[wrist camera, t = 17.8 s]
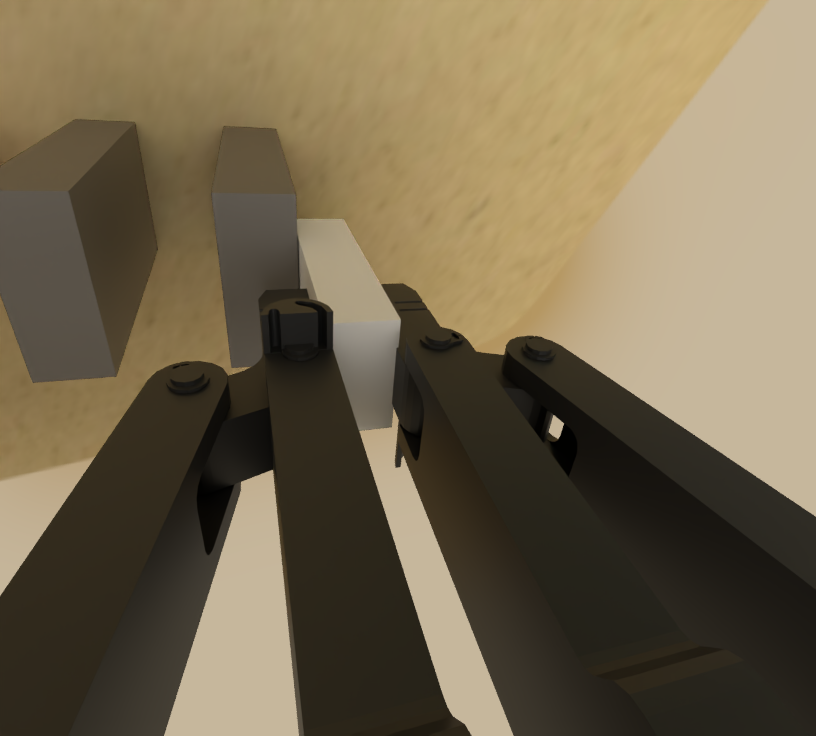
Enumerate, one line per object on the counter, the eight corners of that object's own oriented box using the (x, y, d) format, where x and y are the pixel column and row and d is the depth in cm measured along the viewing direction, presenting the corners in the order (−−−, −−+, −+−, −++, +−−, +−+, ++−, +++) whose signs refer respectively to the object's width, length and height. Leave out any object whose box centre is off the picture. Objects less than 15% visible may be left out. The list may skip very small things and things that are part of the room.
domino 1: (105, 250, 22) (32, 382, 14) (75, 119, 19) (-38, 189, 11) (157, 249, 22) (116, 376, 14) (135, 122, 20) (68, 191, 12)
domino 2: (235, 248, 23) (231, 368, 15) (223, 126, 21) (211, 193, 12) (281, 247, 24) (301, 363, 16) (275, 129, 21) (295, 194, 13)
